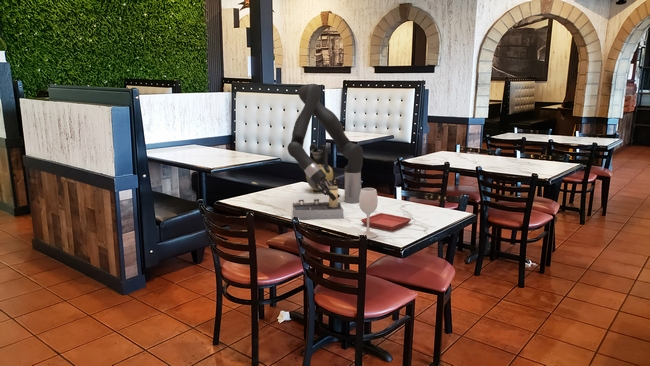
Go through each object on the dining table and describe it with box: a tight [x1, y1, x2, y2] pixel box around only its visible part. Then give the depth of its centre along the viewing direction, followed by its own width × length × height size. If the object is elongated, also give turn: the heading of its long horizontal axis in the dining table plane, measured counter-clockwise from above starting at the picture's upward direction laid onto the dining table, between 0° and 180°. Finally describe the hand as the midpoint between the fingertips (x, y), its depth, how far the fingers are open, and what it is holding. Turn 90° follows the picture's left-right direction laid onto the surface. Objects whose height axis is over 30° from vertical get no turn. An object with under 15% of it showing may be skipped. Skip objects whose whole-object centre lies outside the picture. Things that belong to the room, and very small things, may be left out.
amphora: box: [305, 143, 334, 194], centre depth 310 cm, size 18×17×30 cm
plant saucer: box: [360, 212, 412, 232], centre depth 240 cm, size 18×18×3 cm
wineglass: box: [357, 187, 378, 239], centre depth 222 cm, size 9×9×21 cm
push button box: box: [292, 198, 345, 221], centre depth 256 cm, size 25×13×7 cm, turn 97°
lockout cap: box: [328, 185, 339, 207], centre depth 254 cm, size 4×4×10 cm
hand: (336, 198), depth 253 cm, fingers closed on lockout cap, 4 cm apart
